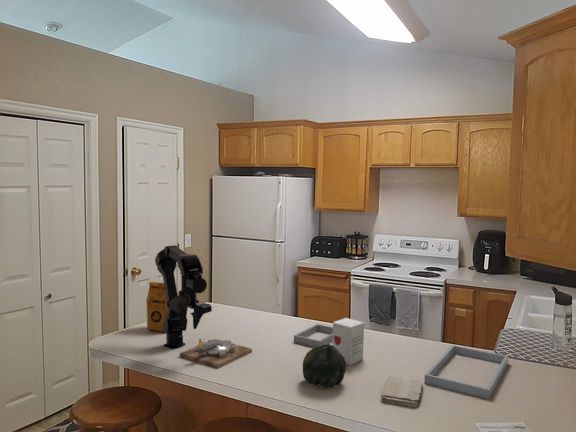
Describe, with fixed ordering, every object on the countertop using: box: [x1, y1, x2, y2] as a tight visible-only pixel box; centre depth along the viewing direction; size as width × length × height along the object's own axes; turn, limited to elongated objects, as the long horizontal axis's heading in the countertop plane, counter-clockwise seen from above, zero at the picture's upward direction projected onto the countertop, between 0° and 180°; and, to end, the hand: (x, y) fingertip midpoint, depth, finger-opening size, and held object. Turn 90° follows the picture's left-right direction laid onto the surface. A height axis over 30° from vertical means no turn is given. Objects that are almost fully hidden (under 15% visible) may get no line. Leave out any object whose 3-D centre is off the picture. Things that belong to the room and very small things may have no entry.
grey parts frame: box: [293, 323, 333, 348], centre depth 209 cm, size 13×20×3 cm, turn 147°
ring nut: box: [196, 338, 237, 357], centre depth 188 cm, size 14×17×7 cm
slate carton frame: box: [423, 344, 509, 400], centre depth 174 cm, size 21×36×3 cm, turn 147°
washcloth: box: [380, 375, 423, 408], centre depth 157 cm, size 12×18×3 cm, turn 160°
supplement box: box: [332, 317, 365, 366], centre depth 185 cm, size 9×9×15 cm
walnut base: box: [179, 338, 253, 369], centre depth 189 cm, size 20×20×2 cm
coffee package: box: [146, 281, 168, 333], centre depth 218 cm, size 10×12×22 cm
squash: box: [302, 343, 347, 389], centre depth 163 cm, size 14×15×15 cm
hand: (189, 327), depth 185 cm, fingers open, 6 cm apart
